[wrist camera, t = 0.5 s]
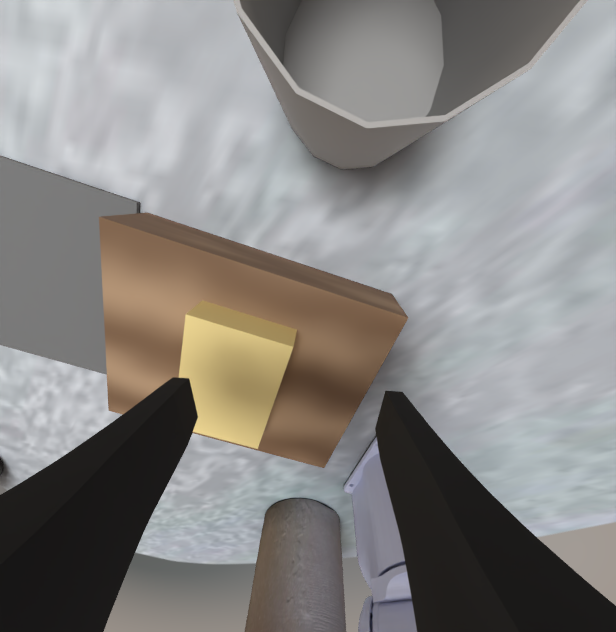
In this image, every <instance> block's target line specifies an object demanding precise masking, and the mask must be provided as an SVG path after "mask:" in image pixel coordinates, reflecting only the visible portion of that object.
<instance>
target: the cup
mask: <svg viewBox="0 0 616 632" xmlns="http://www.w3.org/2000/svg"><path fill="white" fill-rule="evenodd" d="M586 2H587V0H234V4H235V7H236V10H237V13H238V16H239V18H240V20H241V22H242V24H243V26H244V28H245V30H246V32H247V35H248V37H249V39H250V41H251V43H252V45H253V47H254V49H255V51H256V54H257V56H258V58H259V60H260V62H261V64H262V66H263V68H264V70H265V73H266V75H267V77H268V79H269V81H270V83H271V85H272V87H273V90H274V92H275V94H276V96H277V98H278V100H279V102H280V104H281V106H282V109H283V111H284V113H285V115H286V117H287V119H288V121H289V123H290V125H291V128H292V129H293V130H294V132H295V133H296V134H297V136H298V137H299V138H300V139H301V141H302V142H303V143H304V145H305V146H306V147H307V149H308V150H309V151H310V153H311V154H312V155H313V156H314V157H316V158H318V159H321V160H323V161H325V162H327V163H329V164H331V165H333V166H335V167H338V168H340V169H354V168H366V167H374V166H375V165H377V164H379V163H380V162H382V161H384V160H385V159H387V158H388V157H390V156H392V155H393V154H395V153H397V152H398V151H400V150H402V149H403V148H405V147H406V146H408V145H410V144H411V143H413V142H414V141H416V140H418V139H419V138H421V137H422V136H424V135H426V134H427V133H429V132H430V131H432V130H434V129H435V128H437V127H438V126H440V125H442V124H443V123H445V122H446V121H448V120H450V119H451V118H453V117H454V116H456V115H458V114H459V113H461V112H462V111H464V110H466V109H467V108H469V107H470V106H472V105H474V104H475V103H477V102H478V101H480V100H482V99H483V98H485V97H487V96H488V95H490V94H491V93H493V92H495V91H496V90H498V89H499V88H501V87H503V86H504V85H506V84H507V83H509V82H511V81H512V80H514V79H515V78H517V77H519V76H520V75H522V74H523V73H525V72H527V71H528V70H530V69H531V68H532V67H533V66H534V64H535V63H536V62H537V61H538V60H539V58H540V57H541V56H542V55H543V54H544V52H545V51H546V50H547V49H548V48H549V46H550V45H551V44H552V43H553V42H554V40H555V39H556V38H557V37H558V35H559V34H560V33H561V32H562V31H563V29H564V28H565V27H566V26H567V25H568V23H569V22H570V21H571V20H572V19H573V17H574V16H575V15H576V14H577V13H578V11H579V10H580V9H581V8H582V6H583V5H584V4H585V3H586Z"/></svg>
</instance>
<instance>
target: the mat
mask: <svg viewBox="0 0 616 632" xmlns="http://www.w3.org/2000/svg"><path fill="white" fill-rule="evenodd" d="M136 213H140V202H137V201H134V200H131V199H128V198H125V197H122V196H119V195H116V194H113V193H110V192H107V191H104V190H101V189H98V188H95V187H92V186H89V185H86V184H83V183H80V182H77V181H74V180H71V179H68V178H65V177H62V176H60V175H57V174H54V173H51V172H48V171H45V170H42V169H39V168H36V167H33V166H30V165H27V164H24V163H21V162H18V161H15V160H12V159H9V158H6V157H3V156H0V345H3V346H6V347H10V348H13V349H17V350H21V351H24V352H28V353H31V354H35V355H39V356H42V357H46V358H49V359H53V360H57V361H60V362H64V363H67V364H71V365H75V366H78V367H82V368H85V369H89V370H93V371H96V372H100V373H103V374H107V367H106V347H105V327H104V308H103V288H102V269H101V249H100V230H99V217H101V216H113V215H124V214H136Z"/></svg>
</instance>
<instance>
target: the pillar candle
mask: <svg viewBox="0 0 616 632" xmlns="http://www.w3.org/2000/svg"><path fill="white" fill-rule="evenodd" d="M245 632H346V623H345V602H344V585H343V567H342V551H341V535H340V522H339V517H338V514H337V513H336V512H335V511H334V510H332V509H330V508H328V507H326V506H324V505H322V504H321V503H319V502H317V501H314V500H311V499H303V498H299V499H288V500H283V501H280V502H278V503H276V504H274V505H273V506H271V507H270V508H269V509H268V510H267V512H266V514H265V518H264V524H263V529H262V535H261V539H260V545H259V552H258V557H257V562H256V569H255V576H254V580H253V587H252V593H251V599H250V604H249V610H248V616H247V621H246V627H245Z"/></svg>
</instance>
